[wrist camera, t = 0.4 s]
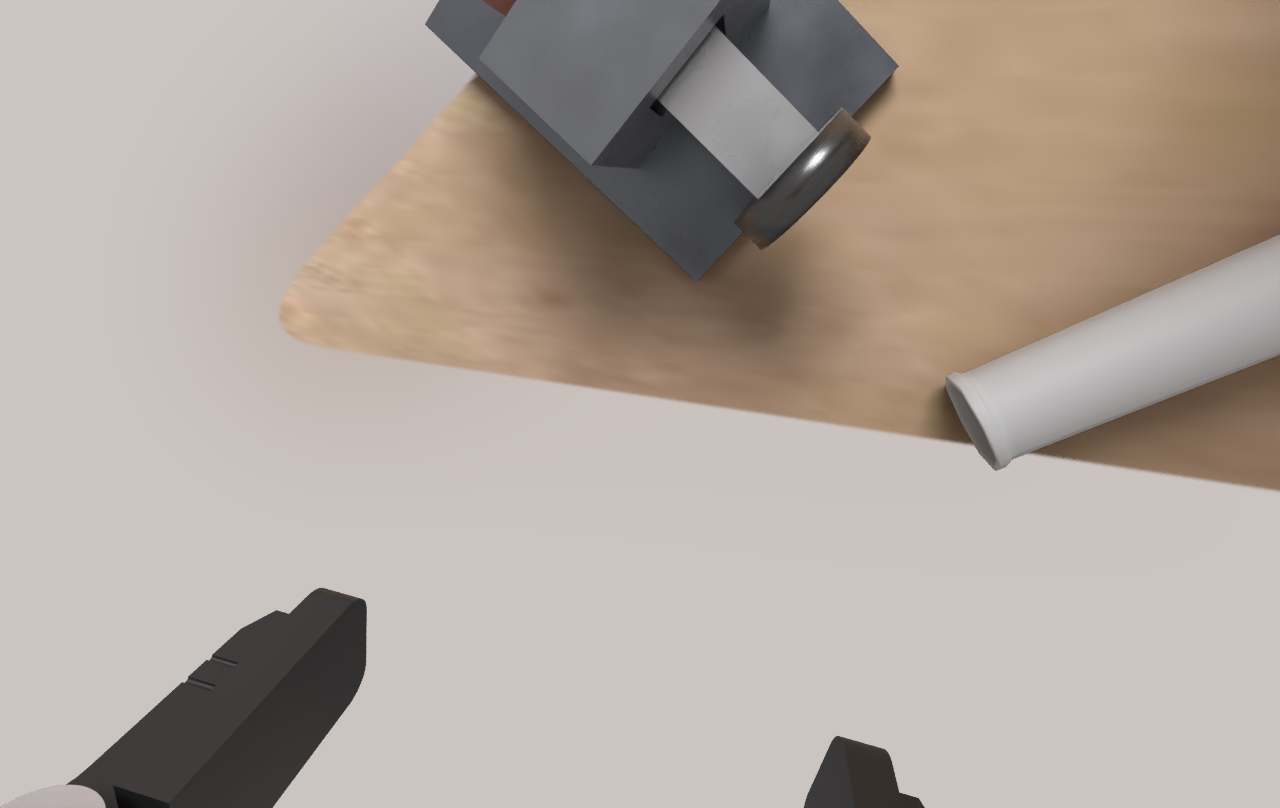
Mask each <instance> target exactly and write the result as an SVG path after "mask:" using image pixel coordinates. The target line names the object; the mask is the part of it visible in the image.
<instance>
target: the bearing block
mask: <svg viewBox="0 0 1280 808" xmlns="http://www.w3.org/2000/svg"><path fill="white" fill-rule="evenodd" d="M425 25H426V26H427V27H428V28H429V29H430V30H432V32H434V33H435V34H436V35H437V36H438V37H439V38H440V39H441V40H442V41H443V42H444V43H445V44H446V45H447V46H448V47H449V48H450V49H451V50H452V51H454V52H455V53H456V54H457V55H458V56H459V57H460V58H461V59H462V60H463V61H464V62H465V63H466V64H467V65H468V66H469V67H471V69H473V70H474V71H475V72H476V73H477V74H478V75H479V76H480V77H481V78H482V79H483V80H484V81H485V82H486V83H487V84H488V85H489V86H490V87H491V88H493V89H494V90H495V91H496V92H497V93H498V94H499V95H500V96H501V97H502V98H503V99H504V100H505V101H506V102H507V103H508V104H509V105H510V106H511V107H513V108H514V109H515V110H516V111H517V112H518V113H519V114H520V115H521V116H522V117H523V118H524V119H525V120H526V121H527V122H528V123H529V124H530V125H532V126H533V127H534V128H535V129H536V130H537V131H538V132H539V133H540V134H541V135H542V136H543V137H544V138H545V139H546V140H547V141H548V142H549V143H550V144H552V145H553V146H554V147H555V148H556V149H557V150H558V151H559V152H560V153H561V154H562V155H563V156H564V157H565V158H566V159H567V160H568V161H569V162H571V163H572V164H573V165H574V166H575V167H576V168H577V169H578V170H579V171H580V172H581V173H582V174H583V175H584V176H585V177H586V178H587V179H588V180H589V181H591V182H592V183H593V184H594V185H595V186H596V187H597V188H598V189H599V190H600V191H601V192H602V193H603V194H604V195H605V196H606V197H607V198H608V199H609V200H611V201H612V202H613V203H614V204H615V205H616V206H617V207H618V208H619V209H620V210H621V211H622V212H623V213H624V214H625V215H626V216H627V217H628V218H630V219H631V220H632V221H633V222H634V223H635V224H636V225H637V226H638V227H639V228H640V229H641V230H642V231H643V232H644V233H645V234H646V235H647V236H648V237H650V238H651V239H652V240H653V241H654V242H655V243H656V244H657V245H658V246H659V247H660V248H661V249H662V250H663V251H664V252H665V253H666V254H667V255H669V256H670V257H671V258H672V259H673V260H674V261H675V262H676V263H677V264H678V265H679V266H680V267H681V268H682V269H683V270H684V271H685V272H686V273H687V274H689V275H690V276H691V277H692V278H693V279H694V280H695V281H697V280H698V279H699V278H700V277H701V276H702V275H703V274H704V273H705V272H706V271H707V270H708V269H709V268H710V267H711V266H712V264H713V263H714V262H715V261H716V260H717V259H718V258H719V257H720V256H721V255H722V254H723V253H724V252H725V251H726V250H727V249H728V247H729V246H730V245H731V244H732V243H733V242H734V241H735V240H736V239H737V238H738V237H739V236H740V235H741V234H742V233H743V232H742V231H741V230H740V229H739V228H738V227H737V226H736V225H735V224H734V222H735V220H736V219H737V217H738V216H739V215H740V214H741V212H742V211H743V210H744V209H745V208H746V207H747V205H748V204H749V203H750V202H751V201H752V200H753V198H754V197H755V196H754V195H753V194H752V193H751V192H750V191H749V190H748V189H747V188H746V187H745V186H744V185H743V184H742V183H741V182H740V181H739V180H738V179H737V178H736V177H735V176H734V175H733V174H732V173H731V172H730V171H729V170H728V169H727V168H726V167H725V166H724V165H723V164H722V163H721V162H720V161H719V160H718V159H717V158H716V157H715V156H714V155H713V154H712V153H711V152H710V151H709V150H708V149H707V148H706V147H705V146H704V145H703V144H702V143H701V142H700V141H699V140H698V139H697V138H696V137H695V136H694V135H693V134H692V133H691V132H690V131H689V130H688V129H687V128H686V127H685V126H684V125H683V124H682V123H681V122H680V121H679V120H678V119H677V118H676V117H675V116H674V115H673V114H672V113H671V112H670V111H668V110H667V109H666V108H665V107H664V106H663V105H662V104H661V103H660V102H659V101H658V100H657V98H658V96H659V95H660V94H661V93H662V91H663V90H664V89H665V88H666V86H667V85H668V84H669V82H670V81H671V80H672V79H673V77H674V76H675V75H676V74H677V72H678V71H679V70H680V69H681V67H682V66H683V65H684V64H685V62H686V61H687V60H688V58H689V57H690V56H691V55H692V53H693V52H694V51H695V50H696V48H697V47H698V46H699V45H700V43H701V42H702V41H703V39H704V38H705V37H706V36H707V34H708V33H709V32H710V31H711V29H712V28H713V27H714V26H716V27H717V28H718V29H719V30H720V31H721V32H722V33H723V34H724V35H725V36H726V38H727V39H728V40H729V41H730V42H731V43H732V44H733V45H734V46H735V47H736V48H737V49H738V50H739V51H740V52H741V53H742V54H743V55H744V56H745V57H746V58H747V59H748V60H749V61H750V62H751V63H752V64H753V65H754V66H755V67H756V68H757V69H758V70H759V72H760V73H761V74H762V75H763V76H764V77H765V78H766V79H767V80H768V81H769V82H770V83H771V84H772V85H773V86H774V87H775V88H776V89H777V90H778V91H779V92H780V93H781V94H782V95H783V96H784V97H785V98H786V99H787V100H788V101H789V102H790V103H791V104H792V106H793V107H794V108H795V109H796V110H797V111H798V112H799V113H800V114H801V115H802V116H803V117H804V118H805V119H806V120H807V121H808V122H809V123H810V124H811V125H812V126H813V127H814V128H815V129H816V130H818V129H819V128H820V127H821V126H822V125H823V124H824V123H825V122H826V121H827V120H828V119H829V118H830V117H831V116H832V115H833V114H834V113H835V112H836V111H837V110H838V109H839V108H841V107H843V108H844V109H845V110H846V111H847V112H848V113H849V114H850V115H851V116H853V114H854V113H855V112H856V111H857V110H858V109H859V108H860V107H861V106H862V105H863V104H864V103H865V102H866V101H867V100H868V99H869V97H870V96H871V95H872V94H873V93H874V92H875V91H876V90H877V89H878V88H879V87H880V86H881V85H882V84H883V83H884V82H885V80H886V79H887V78H888V77H889V76H890V75H891V74H892V73H893V72H894V71H895V70H896V69H897V68H898V67H899V66H898V65H897V63H896V62H895V61H894V60H893V59H892V58H891V57H890V56H889V55H888V54H887V53H886V52H885V51H884V49H883V48H882V47H881V46H880V45H879V44H878V43H877V42H876V41H875V40H874V39H873V38H872V37H871V35H870V34H869V33H868V32H867V31H866V30H865V29H864V28H863V27H862V26H861V25H860V24H859V23H858V21H857V20H856V19H855V18H854V17H853V16H852V15H851V14H850V13H849V12H848V11H847V10H846V9H845V7H844V6H843V5H842V4H841V3H840V2H839V1H838V0H516V2H515V3H514V5H513V6H512V8H511V9H510V11H509V12H508V14H507V15H506V17H505V16H504V15H503V14H501V13H500V12H498V11H497V10H495V9H494V8H492V7H491V6H489V5H488V4H486V3H485V2H484V1H482V0H439V2H438V4H437V5H436V7H435V9H434V10H433V12H432V14H431V15H430V17H429V19H428V20H427V22H426V24H425Z"/></svg>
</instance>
